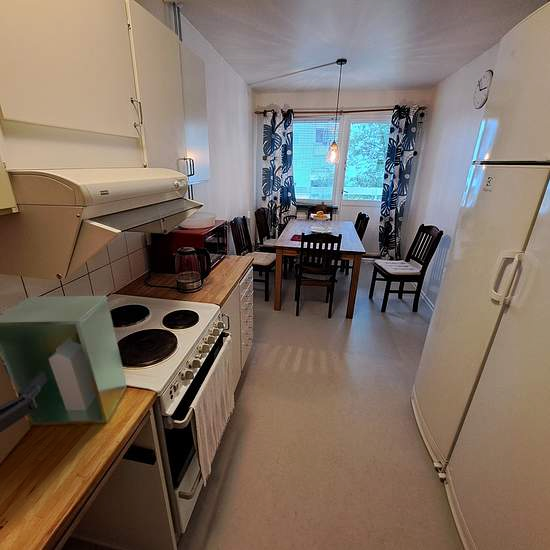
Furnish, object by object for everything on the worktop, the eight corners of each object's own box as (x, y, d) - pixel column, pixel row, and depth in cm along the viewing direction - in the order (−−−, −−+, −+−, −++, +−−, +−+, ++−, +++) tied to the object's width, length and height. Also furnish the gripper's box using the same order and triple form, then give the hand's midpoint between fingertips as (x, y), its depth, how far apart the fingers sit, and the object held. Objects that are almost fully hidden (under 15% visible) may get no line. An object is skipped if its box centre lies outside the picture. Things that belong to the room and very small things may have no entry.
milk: (66, 410, 85) (43, 349, 76) (79, 394, 90) (59, 336, 82) (86, 410, 85) (66, 349, 76) (98, 394, 90) (80, 336, 82)
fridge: (107, 422, 82) (78, 320, 70) (30, 425, 81) (-13, 322, 68) (127, 386, 95) (106, 295, 82) (61, 389, 94) (30, 296, 81)
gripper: (-177, 497, 43) (-43, 392, 63) (-3, 487, 45) (74, 388, 65) (-208, 464, 41) (-58, 365, 60) (-21, 455, 42) (66, 361, 62)
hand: (11, 376), depth 63 cm, fingers open, 13 cm apart
